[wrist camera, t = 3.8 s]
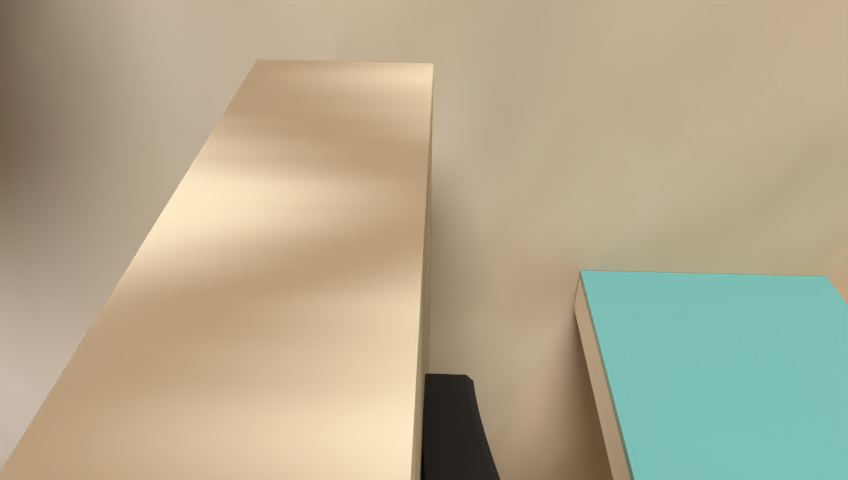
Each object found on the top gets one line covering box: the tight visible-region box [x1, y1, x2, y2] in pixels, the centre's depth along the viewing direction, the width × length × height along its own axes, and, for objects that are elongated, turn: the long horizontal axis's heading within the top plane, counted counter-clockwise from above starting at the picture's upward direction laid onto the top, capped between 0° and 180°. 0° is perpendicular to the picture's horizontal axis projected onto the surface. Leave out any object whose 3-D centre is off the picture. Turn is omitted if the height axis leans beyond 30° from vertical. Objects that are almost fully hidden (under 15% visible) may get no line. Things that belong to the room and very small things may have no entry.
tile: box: [574, 271, 848, 480], centre depth 14 cm, size 6×1×9 cm, turn 89°
